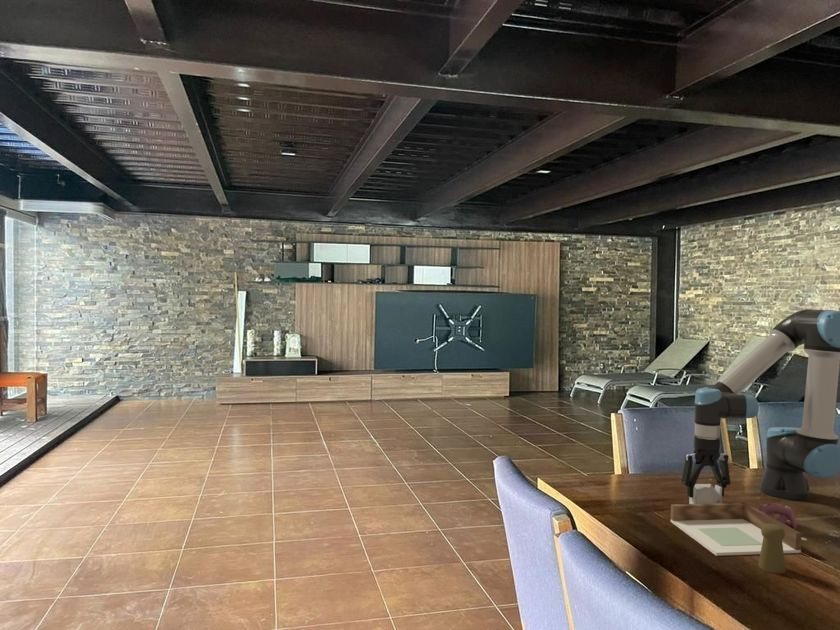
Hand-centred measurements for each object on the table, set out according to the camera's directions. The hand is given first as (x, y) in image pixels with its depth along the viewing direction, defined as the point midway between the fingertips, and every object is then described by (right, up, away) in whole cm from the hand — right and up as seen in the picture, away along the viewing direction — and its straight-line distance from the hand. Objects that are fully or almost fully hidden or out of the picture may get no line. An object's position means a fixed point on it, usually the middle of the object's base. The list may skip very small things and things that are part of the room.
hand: (705, 506), depth 196 cm
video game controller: (+16, -2, -12) cm, 20 cm away
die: (0, -1, 0) cm, 1 cm away
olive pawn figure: (-3, -2, -42) cm, 43 cm away
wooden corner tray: (-3, -2, -22) cm, 23 cm away
